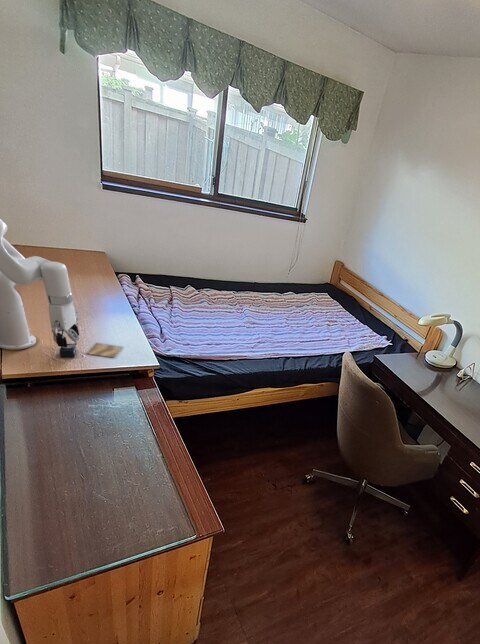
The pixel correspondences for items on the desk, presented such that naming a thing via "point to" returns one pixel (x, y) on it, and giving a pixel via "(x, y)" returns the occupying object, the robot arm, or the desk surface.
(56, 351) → the desk surface
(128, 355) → the desk surface
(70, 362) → the desk surface
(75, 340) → the watch
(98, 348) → the brown wooden square tile
